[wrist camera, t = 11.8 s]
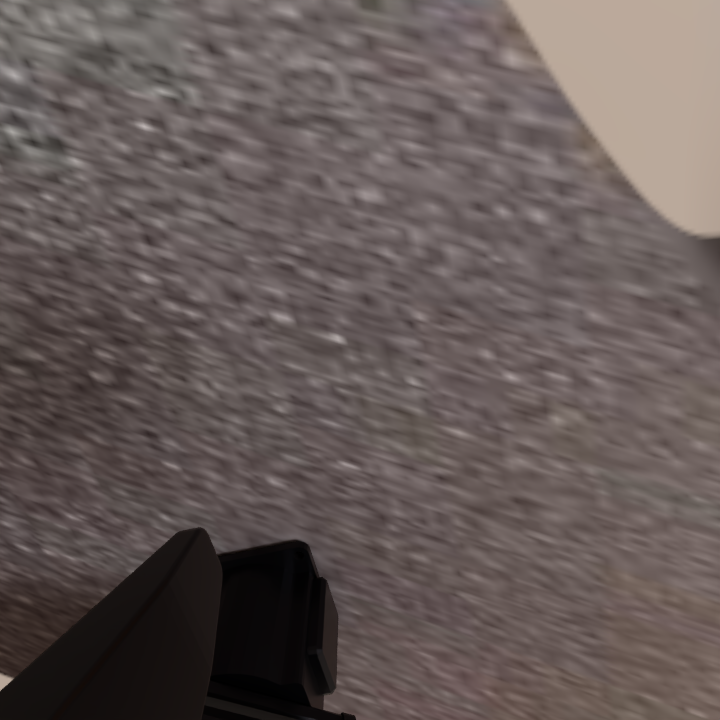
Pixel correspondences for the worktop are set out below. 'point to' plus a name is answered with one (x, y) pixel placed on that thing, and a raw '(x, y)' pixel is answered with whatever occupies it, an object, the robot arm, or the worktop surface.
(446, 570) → the worktop surface
